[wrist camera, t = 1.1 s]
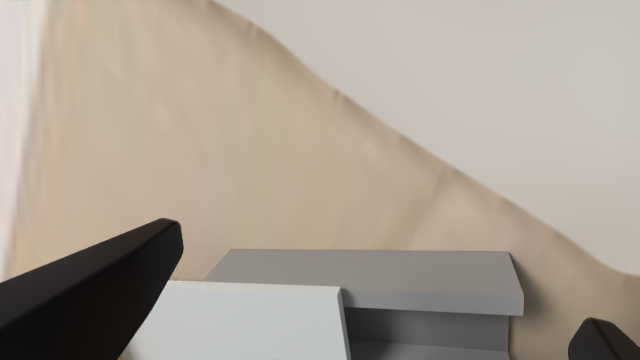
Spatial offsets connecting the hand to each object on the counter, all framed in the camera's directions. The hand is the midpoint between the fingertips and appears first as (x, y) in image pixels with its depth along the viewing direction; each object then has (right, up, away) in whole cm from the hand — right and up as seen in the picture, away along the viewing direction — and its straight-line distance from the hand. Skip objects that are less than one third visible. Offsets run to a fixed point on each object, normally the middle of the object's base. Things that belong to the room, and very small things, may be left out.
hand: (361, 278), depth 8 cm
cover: (-8, -8, +16) cm, 20 cm away
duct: (+2, -6, +17) cm, 19 cm away
